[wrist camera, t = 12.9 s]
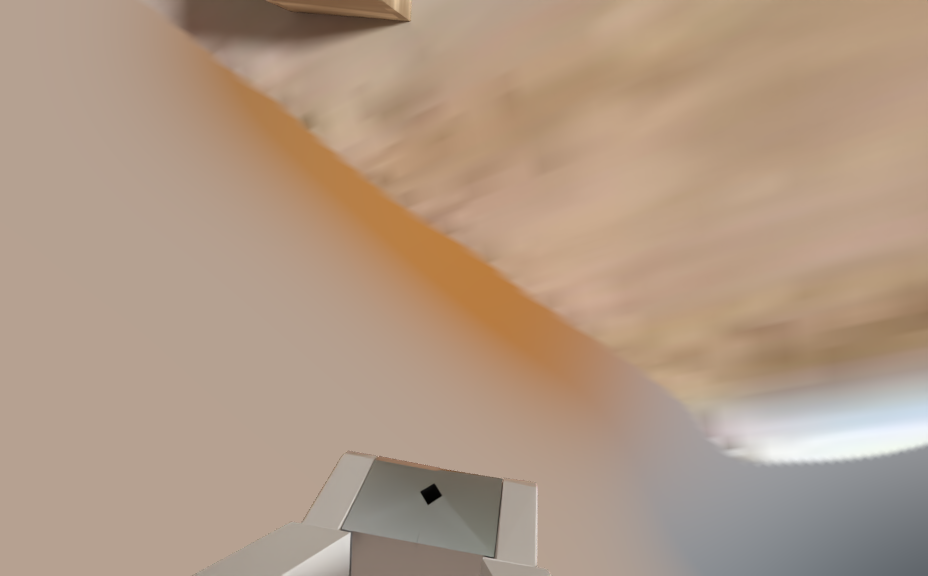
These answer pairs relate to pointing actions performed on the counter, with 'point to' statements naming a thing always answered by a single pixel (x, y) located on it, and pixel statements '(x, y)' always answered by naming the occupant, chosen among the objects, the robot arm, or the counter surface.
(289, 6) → the box
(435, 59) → the counter surface
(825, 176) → the counter surface
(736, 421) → the counter surface
